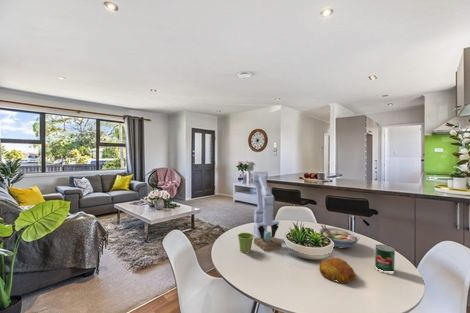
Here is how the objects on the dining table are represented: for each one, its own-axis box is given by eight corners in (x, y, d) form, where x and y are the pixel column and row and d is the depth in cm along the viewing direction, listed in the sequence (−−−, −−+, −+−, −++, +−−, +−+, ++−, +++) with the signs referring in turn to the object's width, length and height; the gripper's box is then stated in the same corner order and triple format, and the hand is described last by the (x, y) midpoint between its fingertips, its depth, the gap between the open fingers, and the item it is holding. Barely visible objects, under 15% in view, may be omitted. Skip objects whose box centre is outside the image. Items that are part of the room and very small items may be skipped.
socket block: (254, 243, 141) (254, 238, 141) (270, 240, 145) (270, 235, 145) (264, 250, 130) (264, 245, 130) (281, 247, 134) (281, 242, 134)
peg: (263, 244, 138) (263, 231, 138) (268, 244, 140) (269, 231, 139) (266, 247, 135) (266, 233, 135) (271, 246, 136) (271, 233, 136)
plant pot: (253, 247, 134) (254, 233, 134) (253, 254, 124) (253, 239, 124) (238, 246, 135) (238, 232, 135) (236, 253, 125) (236, 238, 125)
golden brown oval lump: (314, 275, 109) (312, 258, 109) (339, 265, 114) (337, 250, 114) (337, 291, 96) (335, 273, 95) (364, 280, 101) (362, 262, 100)
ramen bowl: (366, 256, 125) (367, 241, 125) (323, 252, 129) (323, 238, 129) (351, 239, 150) (352, 227, 149) (315, 236, 154) (315, 224, 153)
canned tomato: (390, 267, 113) (391, 245, 113) (397, 275, 106) (397, 252, 106) (372, 264, 115) (373, 243, 115) (377, 272, 108) (378, 249, 108)
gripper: (261, 218, 131) (260, 241, 131) (281, 215, 136) (281, 238, 137) (255, 215, 137) (254, 237, 137) (275, 213, 143) (274, 234, 143)
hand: (267, 237), depth 137 cm, fingers open, 7 cm apart
